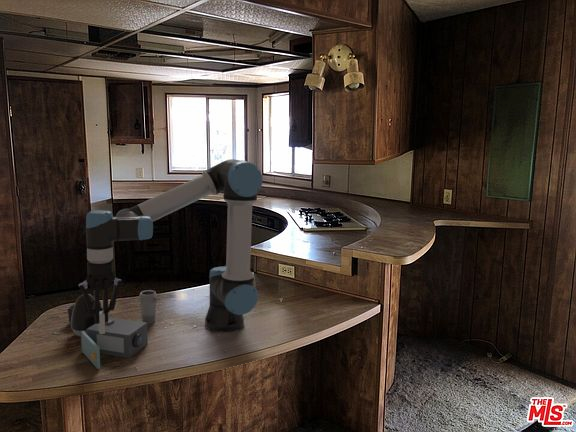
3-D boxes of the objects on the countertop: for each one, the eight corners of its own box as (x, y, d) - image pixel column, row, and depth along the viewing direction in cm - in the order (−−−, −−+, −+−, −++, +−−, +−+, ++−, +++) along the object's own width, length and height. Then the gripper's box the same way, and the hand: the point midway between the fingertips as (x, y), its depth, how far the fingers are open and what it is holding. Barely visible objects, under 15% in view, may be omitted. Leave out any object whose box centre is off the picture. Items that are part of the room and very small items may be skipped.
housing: (151, 344, 160) (150, 320, 158) (133, 359, 149) (132, 333, 148) (107, 338, 164) (106, 314, 162) (86, 351, 153) (85, 327, 152)
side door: (100, 368, 142) (100, 347, 141) (94, 370, 141) (93, 348, 139) (84, 350, 153) (83, 330, 152) (78, 351, 152) (77, 331, 151)
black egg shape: (83, 343, 159) (81, 301, 157) (65, 335, 165) (63, 295, 162) (108, 333, 168) (106, 293, 166) (90, 326, 173) (88, 288, 171)
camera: (88, 328, 172) (87, 303, 170) (65, 325, 174) (63, 300, 172) (109, 315, 184) (108, 292, 183) (87, 313, 186) (86, 289, 185)
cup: (161, 322, 179) (160, 293, 177) (145, 327, 174) (145, 297, 172) (151, 317, 184) (150, 288, 182) (136, 321, 179) (135, 292, 177)
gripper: (119, 255, 148) (120, 324, 152) (75, 259, 141) (77, 331, 145) (124, 261, 142) (125, 333, 145) (78, 265, 135) (81, 340, 139)
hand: (101, 332), depth 145 cm, fingers closed
